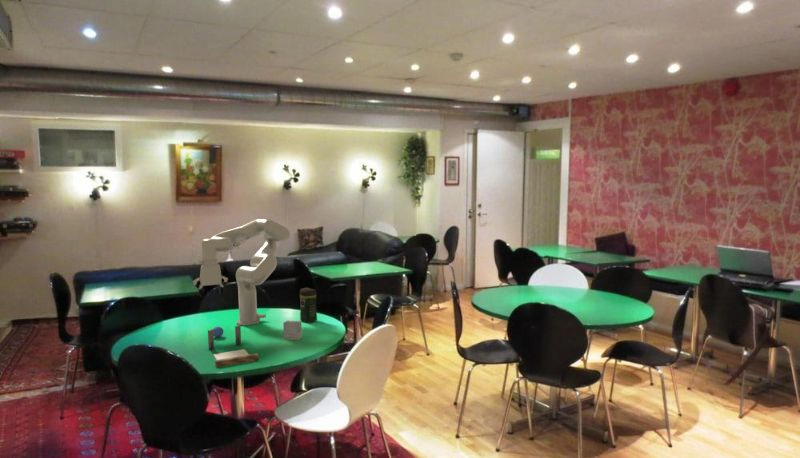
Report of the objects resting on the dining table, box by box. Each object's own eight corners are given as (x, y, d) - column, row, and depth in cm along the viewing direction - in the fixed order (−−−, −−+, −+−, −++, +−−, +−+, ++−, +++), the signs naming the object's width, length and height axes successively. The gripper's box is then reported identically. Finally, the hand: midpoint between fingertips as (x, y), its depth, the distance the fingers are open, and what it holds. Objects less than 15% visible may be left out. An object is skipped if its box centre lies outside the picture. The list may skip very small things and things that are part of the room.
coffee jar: (319, 321, 304) (318, 288, 302) (307, 324, 299) (306, 290, 297) (310, 318, 311) (309, 286, 310) (298, 320, 306) (297, 287, 305)
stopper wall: (257, 358, 243) (257, 353, 243) (258, 360, 241) (258, 354, 241) (215, 365, 234) (215, 360, 234) (216, 367, 233) (215, 361, 232)
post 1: (213, 347, 259) (212, 329, 258) (214, 349, 257) (213, 330, 256) (208, 348, 258) (207, 330, 257) (209, 350, 256) (208, 331, 255)
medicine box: (302, 338, 273) (301, 321, 272) (297, 340, 269) (297, 323, 268) (288, 336, 276) (287, 320, 275) (283, 339, 271) (283, 322, 271)
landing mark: (244, 349, 256) (244, 349, 256) (251, 358, 244) (251, 357, 244) (213, 354, 249) (213, 354, 249) (219, 363, 237) (219, 363, 237)
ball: (222, 335, 280) (222, 324, 279) (224, 337, 275) (224, 327, 275) (211, 336, 277) (210, 326, 277) (213, 339, 272) (212, 328, 272)
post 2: (240, 343, 265) (239, 325, 264) (241, 345, 263) (241, 326, 262) (235, 344, 264) (234, 326, 263) (236, 345, 262) (235, 327, 261)
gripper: (193, 265, 274) (194, 298, 275) (228, 262, 282) (229, 295, 284) (191, 263, 280) (192, 296, 282) (225, 260, 289) (226, 292, 290)
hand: (211, 295), depth 283 cm, fingers open, 9 cm apart
